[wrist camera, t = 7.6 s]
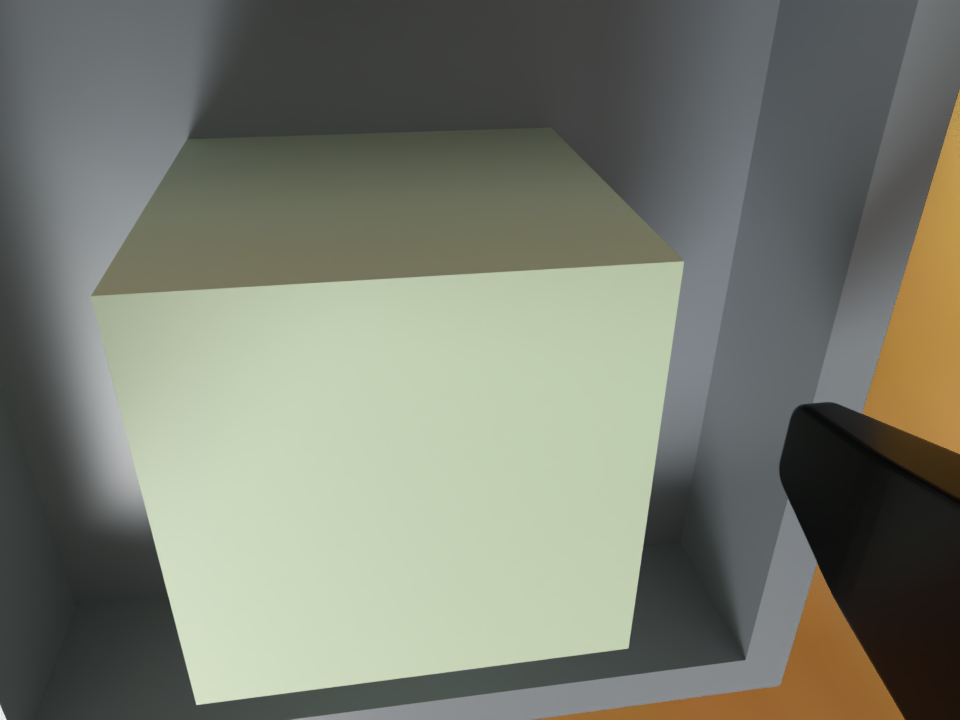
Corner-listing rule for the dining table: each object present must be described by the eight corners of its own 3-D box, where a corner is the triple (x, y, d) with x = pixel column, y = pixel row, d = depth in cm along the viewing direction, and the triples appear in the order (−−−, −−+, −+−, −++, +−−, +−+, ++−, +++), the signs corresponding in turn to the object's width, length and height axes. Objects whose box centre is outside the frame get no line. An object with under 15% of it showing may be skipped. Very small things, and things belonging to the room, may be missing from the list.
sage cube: (550, 127, 11) (684, 261, 7) (536, 418, 14) (628, 648, 10) (187, 139, 11) (90, 296, 6) (240, 444, 13) (196, 704, 9)
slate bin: (848, -193, 11) (1055, -233, 8) (700, 547, 17) (780, 685, 14) (-254, -235, 9) (-567, -310, 6) (49, 617, 15) (-21, 795, 12)
